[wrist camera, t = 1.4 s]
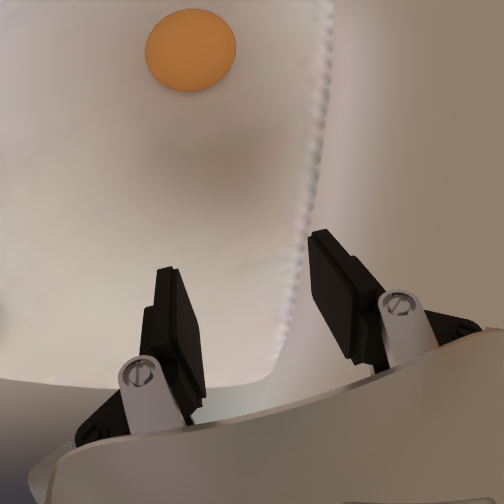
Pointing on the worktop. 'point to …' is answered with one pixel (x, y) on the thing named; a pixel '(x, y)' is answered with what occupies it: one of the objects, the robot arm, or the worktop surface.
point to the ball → (190, 50)
